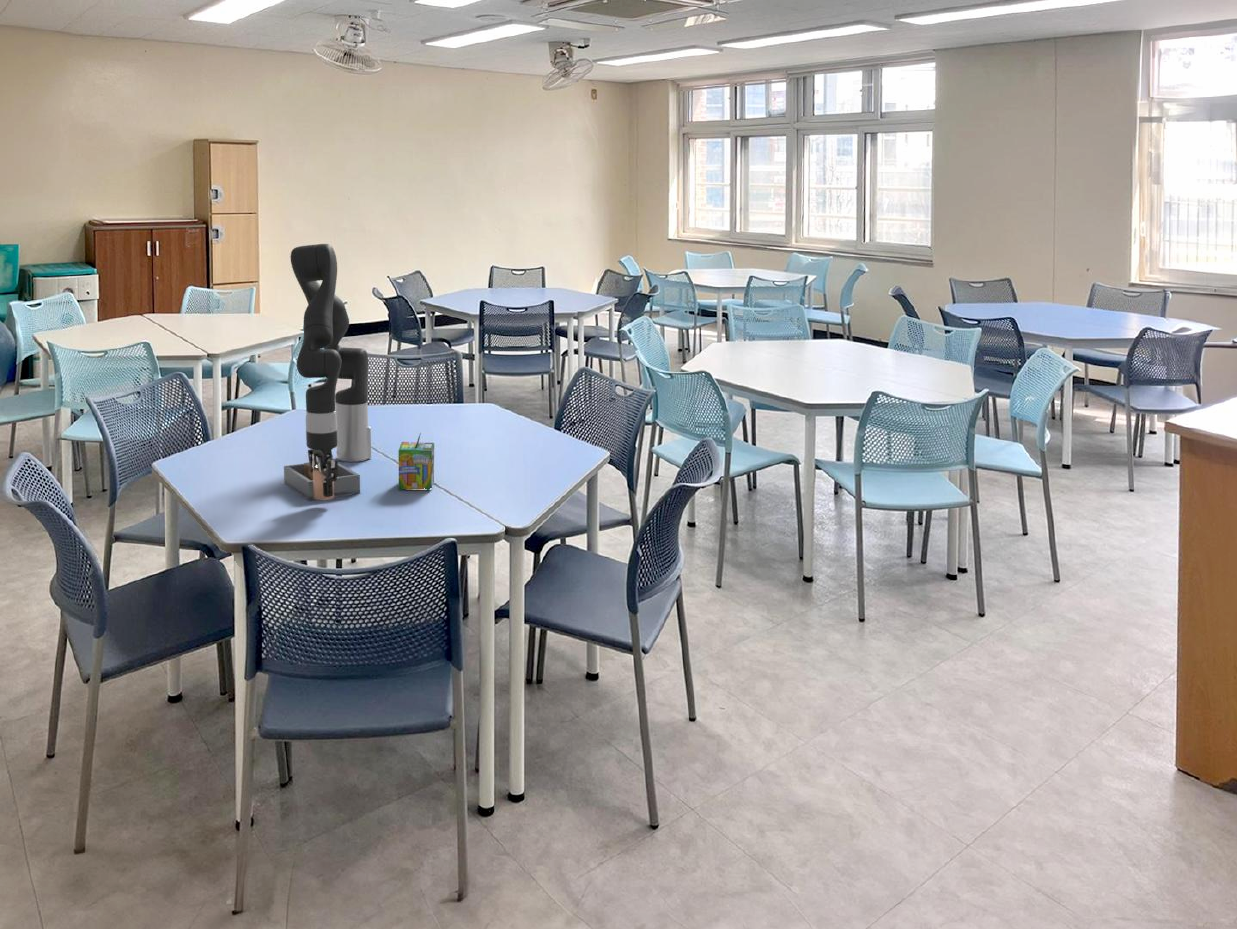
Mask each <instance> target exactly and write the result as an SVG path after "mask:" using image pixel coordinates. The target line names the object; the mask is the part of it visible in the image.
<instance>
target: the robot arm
mask: <svg viewBox="0 0 1237 929" xmlns="http://www.w3.org/2000/svg"><path fill="white" fill-rule="evenodd" d="M290 264H291V268H292V271H293V274H294V276H295V278H296V281H297V282H298V285H299V286H300V288H301V291H302V293H303V295H304V296H305V299H306V301H307V304H308V305H307V307H306V308H305V311H304V314H303V340H302V344H301V347H300V349H299V353H298V355H297V359H296V370H297V372H298V373H299V375H300V376H301V377H303V378H306V379H319V378H320V379H324V378H325V379H326V381H324V383H322V384H320V385H315V386H311V387H308V388H307V389H306V391H305V406H306V407H305V409H306V410H305V412H306V414H305V435H306V436H305V438H306V440H305V441H306V446H307V448H308V450H307V456H308V462H309V465H310V472H311V473H313V470H314V469H319V473H320V474H322V479H323V495H324V496H325V497H330V496H332V495H333V484H332V482H334V481H336V480H337V467H338V463H339V461H341V462H349V463H350V462H362V461H367V460H369V459H372V431H371V430H372V428H371V427H370V426H369V417H368V416H369V412H368V410H369V409H368V397H369V396H368V395H369V394H368V392H369V385H368V384H369V381H368V380H369V356H368V352H367V350H366V349H365V348H360V347H342V346H340V342H341V341H342V339H343V338H344V336H345V335H346V333H347V331H348V329H349V326H350V318H349V315H348V312H347V308H346V306H345V304H344V302H343V301H342V299H341V298H340V297H339V296H337V294H336V287H337V286H336V285H337V277H338V260H337V255H336V253H335V250H334V248H333V246H332V245H331V244H329V243H318V244H309V245H300V246H296V247H294V248H293V249H292V250H291V251H290ZM319 281H321V283H319ZM339 379H340V380H353V381H354V383H353V385H351V386H350V387H348V388H344V389H341V390H339V391H337V392H336V389H337V384H338V380H339ZM335 448H336V459H334V455H333V453H332V450H333V449H335ZM323 469H326V470H323ZM325 473H326V476H325ZM329 475H330V477H329Z"/></svg>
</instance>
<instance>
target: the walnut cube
mask: <svg viewBox="0 0 1237 929" xmlns="http://www.w3.org/2000/svg"><path fill="white" fill-rule="evenodd" d="M303 464H304V476H305V477H306V478H308V479H309V480H313V473H311V472H310V465H309V461H308V462H303Z"/></svg>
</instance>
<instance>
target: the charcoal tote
mask: <svg viewBox="0 0 1237 929" xmlns="http://www.w3.org/2000/svg"><path fill="white" fill-rule="evenodd" d="M360 477H361V475H360V474H359V473H357V472H355V471H353V470H352V469H350V468H348V467H346V466H344V465H343V464H341V463H339V462H338V467H337V480H336V481H334V498H335V497H342V496H349V494H351V495H356V494H361V478H360ZM283 478H284V479H283V480H284V481H283V482H284V485H285V486H287V487H288V488H290V489H292V490H293V491H294V492H296V493H297V494H299V495H301V497H303V498H305V499H306V500H308V501H314V500H317V499H315V498H314V489H313V480H309V479H308V478H306V477H305V476H304V463H299V464H291V465H284V466H283Z"/></svg>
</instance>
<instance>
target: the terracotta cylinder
mask: <svg viewBox="0 0 1237 929" xmlns="http://www.w3.org/2000/svg"><path fill="white" fill-rule="evenodd" d="M323 470H326V469H323ZM325 476H326V473H325ZM329 477H330V475H329ZM332 484H333V495H332V496H330V497H325V496H324V495H323V479H322V474H320V473H319V469H314V470H313V489H314V498H315V499H316V500H319V501H325V500H326V501H327V500H332V499H334V498H335V497H334V482H332Z"/></svg>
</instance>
